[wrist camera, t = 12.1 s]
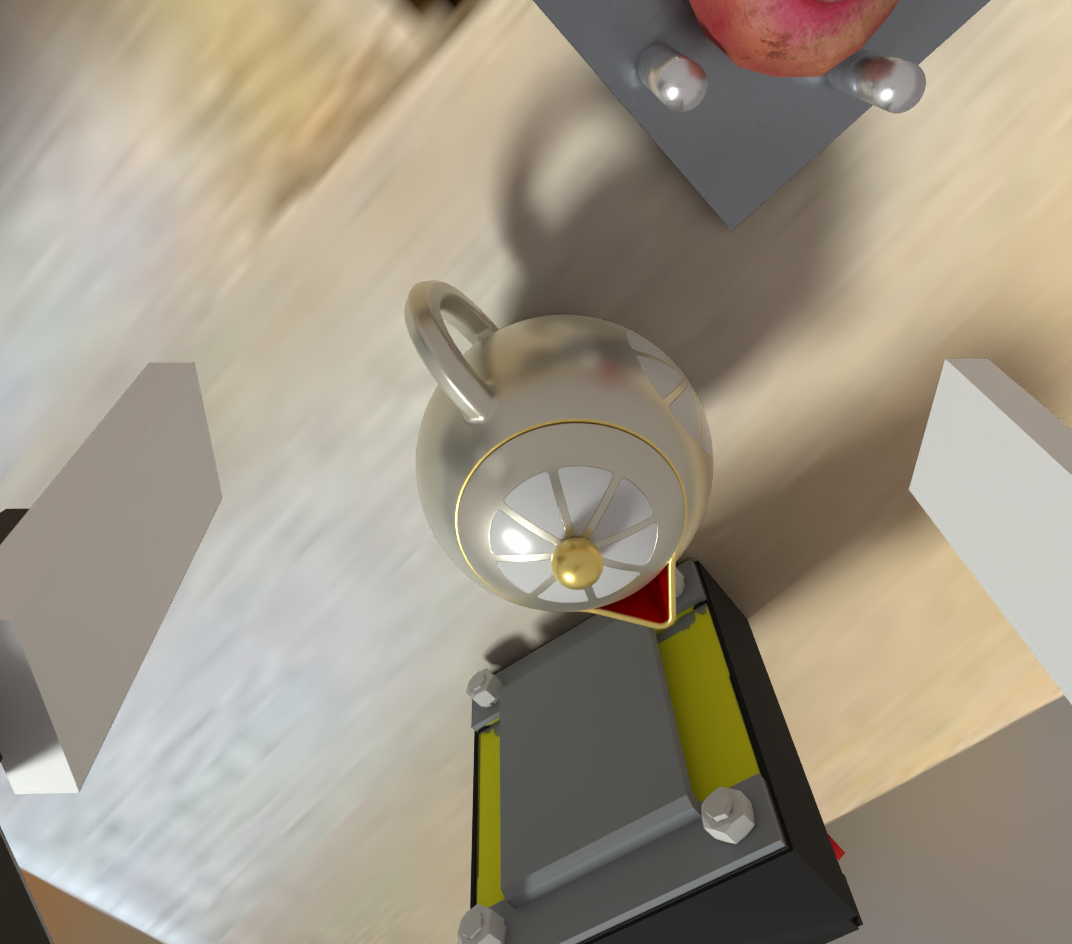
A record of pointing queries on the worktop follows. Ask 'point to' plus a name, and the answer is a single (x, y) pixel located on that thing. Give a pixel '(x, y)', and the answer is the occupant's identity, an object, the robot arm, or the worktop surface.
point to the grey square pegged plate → (745, 89)
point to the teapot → (559, 458)
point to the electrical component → (646, 792)
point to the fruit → (790, 32)
